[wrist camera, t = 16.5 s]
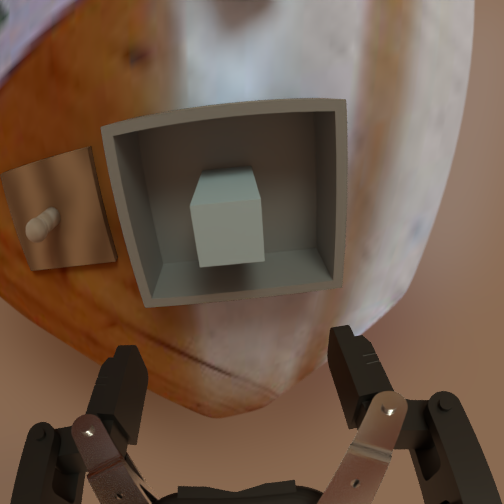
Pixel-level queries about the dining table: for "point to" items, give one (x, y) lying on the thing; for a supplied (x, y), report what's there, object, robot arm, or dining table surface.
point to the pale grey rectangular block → (227, 217)
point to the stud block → (59, 211)
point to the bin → (268, 183)
